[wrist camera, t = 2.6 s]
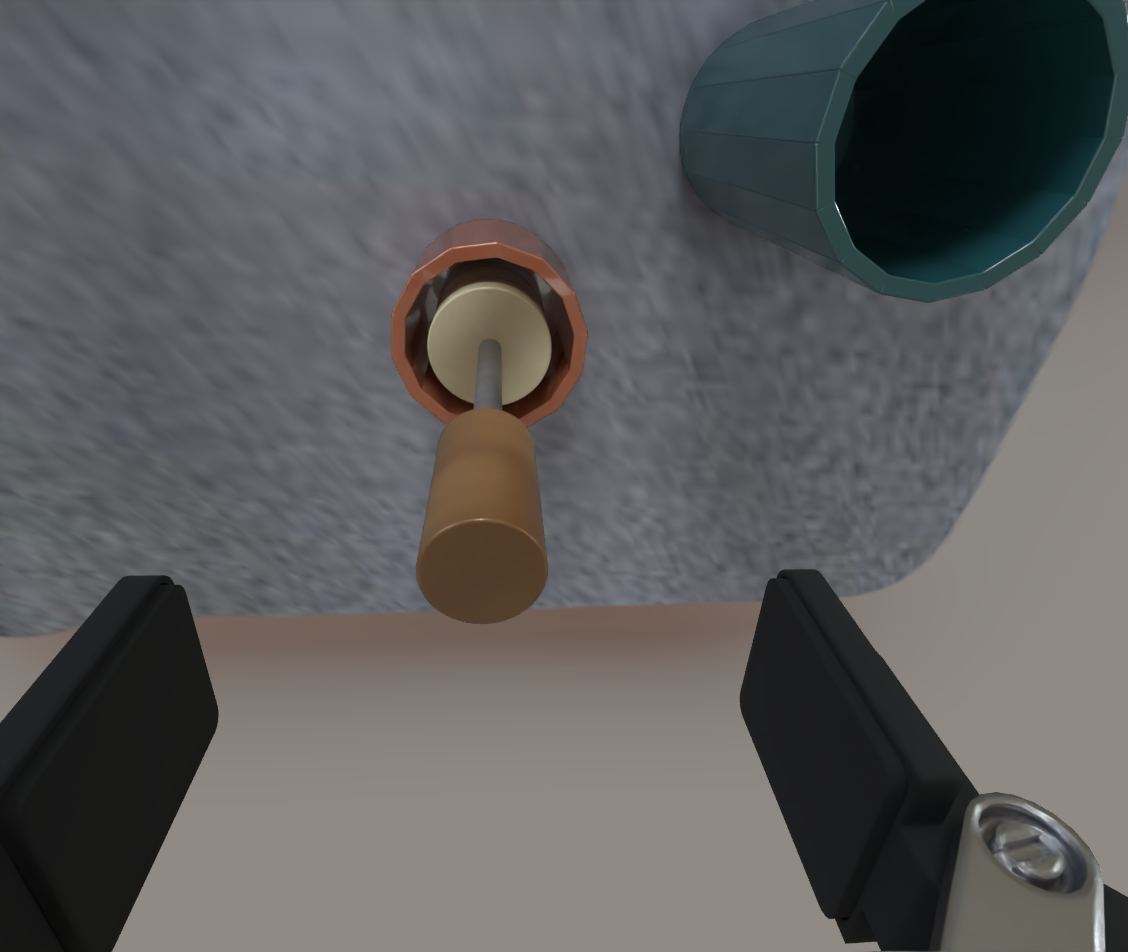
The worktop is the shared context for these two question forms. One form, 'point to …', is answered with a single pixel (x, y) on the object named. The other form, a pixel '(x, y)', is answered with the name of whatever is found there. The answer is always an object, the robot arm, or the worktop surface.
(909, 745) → the robot arm
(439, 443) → the brush
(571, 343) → the cup
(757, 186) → the cup
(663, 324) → the worktop surface
